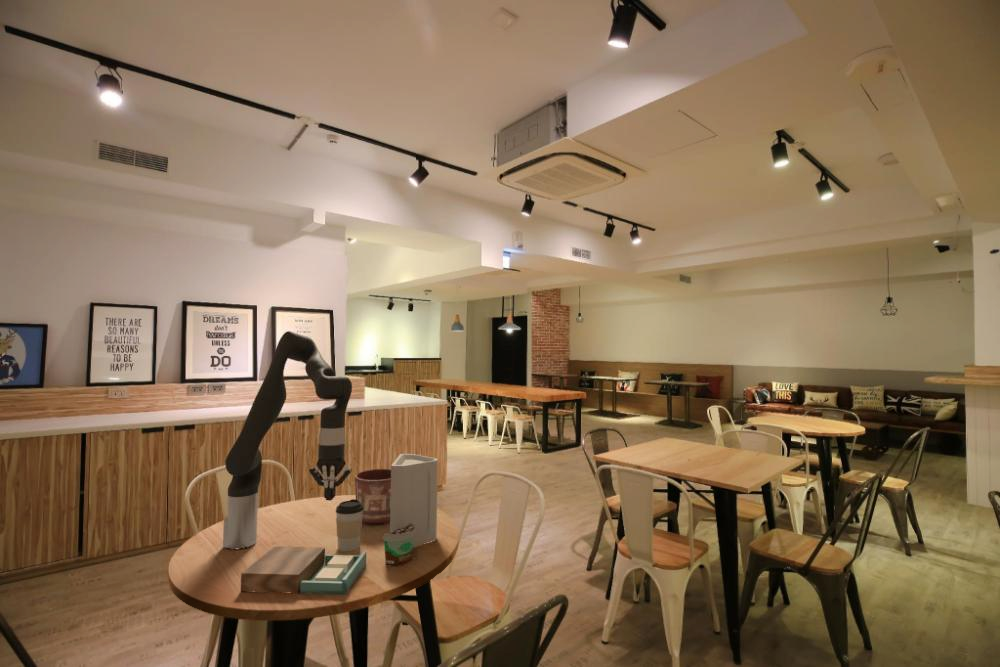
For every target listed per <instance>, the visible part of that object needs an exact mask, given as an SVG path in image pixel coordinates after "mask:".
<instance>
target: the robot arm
mask: <svg viewBox="0 0 1000 667" xmlns="http://www.w3.org/2000/svg"><path fill="white" fill-rule="evenodd" d="M275 348H276V349H275V350H274V354H273V356H272V359H271V362H270V364H269V367H268V370H267V372H266V375H265V376H264V379H263V381H262V383H261V386H260V388H259V389H258V392H257V393H256V395H255V398H254V400H253V402H252V405H251V408H250V409H249V413H248V414H247V416H246V418H245V421H244V424H243V426H242V429H241V431H240V433H239V435H238V437H237V439H236V441H235V442H234V444H233V445H232V447H231V449H230V451H229V452H228V453H227V456H226V458H225V465H224V466H225V469H226V472H227V473H228V474H229V475H230V476H232V478H231V481H230V482H229V485H228V488H227V500H226V501H227V502H226V504H227V505H226V506H227V509H226V517H225V518H223V532H222V533H223V534H222V548H226V547H227V548H231V549H230V550H234V549H235V550H237V549H236V548H243V547H247V548H249V547H248V546H250V547H252V546H254V545H255V544H256V543H257V539H258V538H257V537H258V510H259V487H260V483H261V478H262V466H263V464H262V463H263V458H262V457H263V456H262V451H261V450H260V448H259V447H260V445H261V443H262V441H263V440H264V437H265V435H267V433H268V432H269V431H270V430H271V428H272V427H273V425H274V423H275V422H276V421H277V419H278V417H279V416H280V414H281V411H282V409H283V408H284V407H283V406H284V405H285V402H286V400H287V388H286V383H285V377H284V376H285V375H284V374H285V372H284V371H285V367H286V365H287V361H288V359H289V360H292V361H295V362H299V363H300V362H301V363H302V364H305V369H304V370H305V373H306V375H307V376H308V378H309V379H310V380H311V381H312V382H313V385H314V390H315V394H316V396H317V398H319V399H321V400H324V401H328V400H329V401H330V400H335V401H334V403H333V404H332V405H330V406H327V407H324V408H322V410H321V411H320V423H319V425H320V426H319V433H318V453H317V455H318V456H317V458H318V459H317V461H316V465H315V466H313V467H311V468H310V469H309V470H308V472H309V474H310V475H311V477H312V478H313V479H314V480H315V482H316V484H317V485H318V486H322V487H323V489H324V491H323V492H324V496H323V498H324V499H325V500H326V501H332V500H334V498H335V497H336V488H337V487H339V486H341V485H342V484H343V483H344V481H345V480H346V479H347V478H348V477H349V475H350V474H351V473H352V471H353V468H351V467H348V466H347V465H346V464H347V463H346V460H345V447H346V430H345V429H346V428H345V426H346V425H345V424H346V412H347V408H348V405H349V401H350V399H351V395H352V392H353V391H352V390H353V384H352V381H351V379H350V378H349V377H348V376H345V375H341V376H340V375H339V376H338V375H336V372H335V370H334V369H333V368H332V367H331V365H329V363H328V362H326V360H325V359H324V357H323V356H322V354H321V353H320V350H319V348H318V347H317V344H316V343H315V341H314V340H313V339H312V338H311V337H308V336H306V335H303V334H300V333H298V332H294V331H291V330H289V331H285V332H284V333H283V334H282V335H281V337H280V339H279V341H278V342H277V345H276V347H275ZM341 471H342V475H341V476H340V477H339V474H340V473H341ZM338 477H339V479H338ZM253 544H254V545H253ZM251 545H252V546H251ZM227 548H226V549H227ZM243 549H244V548H243Z"/></svg>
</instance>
